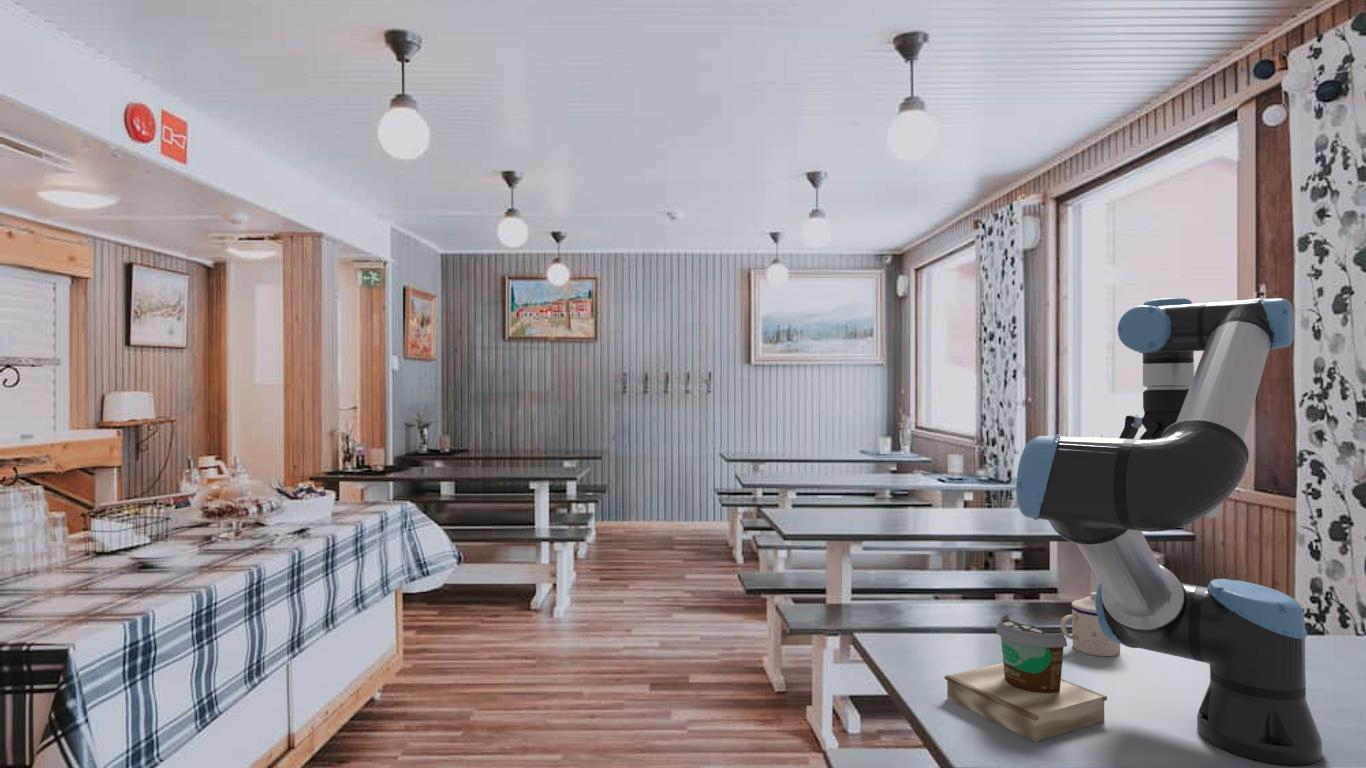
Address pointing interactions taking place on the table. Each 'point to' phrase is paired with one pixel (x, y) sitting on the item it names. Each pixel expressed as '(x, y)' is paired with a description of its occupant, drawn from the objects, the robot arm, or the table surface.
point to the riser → (1025, 703)
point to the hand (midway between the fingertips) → (1169, 511)
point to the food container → (1031, 656)
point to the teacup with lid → (1088, 629)
